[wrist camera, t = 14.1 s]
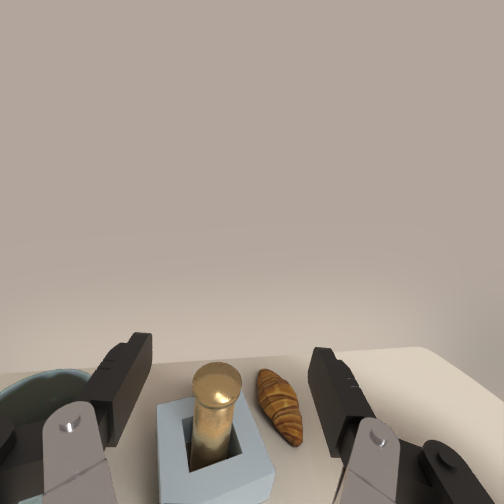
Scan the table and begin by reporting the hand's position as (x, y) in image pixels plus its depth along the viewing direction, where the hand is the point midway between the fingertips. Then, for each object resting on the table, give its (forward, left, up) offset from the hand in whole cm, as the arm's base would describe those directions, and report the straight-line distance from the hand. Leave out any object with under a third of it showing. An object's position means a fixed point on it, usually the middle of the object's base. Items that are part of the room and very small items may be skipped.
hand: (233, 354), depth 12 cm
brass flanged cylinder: (-3, -11, -28) cm, 30 cm away
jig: (-3, -11, -28) cm, 30 cm away
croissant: (-16, -15, -28) cm, 36 cm away
